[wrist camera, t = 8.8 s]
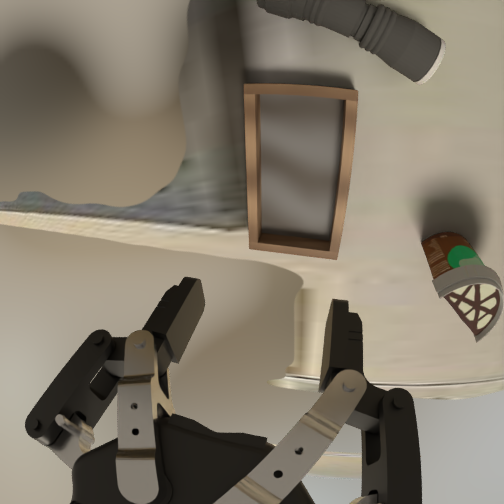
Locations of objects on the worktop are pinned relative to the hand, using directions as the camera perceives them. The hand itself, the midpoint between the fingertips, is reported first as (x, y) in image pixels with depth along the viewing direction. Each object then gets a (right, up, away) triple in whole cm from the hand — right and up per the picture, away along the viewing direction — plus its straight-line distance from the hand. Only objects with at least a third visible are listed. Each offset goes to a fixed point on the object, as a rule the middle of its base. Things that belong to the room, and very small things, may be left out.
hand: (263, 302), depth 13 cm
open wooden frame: (+4, +11, +14) cm, 19 cm away
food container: (+25, +3, +15) cm, 29 cm away
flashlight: (+3, +27, +5) cm, 28 cm away
